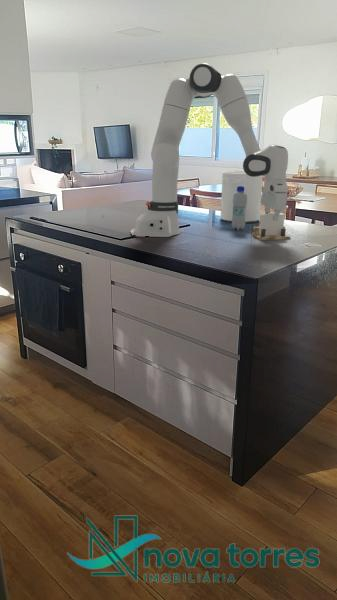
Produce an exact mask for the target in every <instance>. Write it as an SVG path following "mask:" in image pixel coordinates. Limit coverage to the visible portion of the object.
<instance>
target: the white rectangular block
mask: <svg viewBox="0 0 337 600" xmlns="http://www.w3.org/2000/svg"><path fill="white" fill-rule="evenodd" d="M273 216H274V213H270V214H265V213H260V218H259V224H258V225H259V226H258V227H259V235H260V236H261V229H266V232H265V235H281V229H283V226H284V224H285V213H281V212H280V214H279V216H278V221H274V220H273ZM284 227H285V226H284Z"/></svg>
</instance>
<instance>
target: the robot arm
mask: <svg viewBox="0 0 337 600" xmlns="http://www.w3.org/2000/svg"><path fill="white" fill-rule="evenodd" d="M211 96H214V97H215V98H216V99H217V101H218V105H219V106H220V107H219V108H220V111H221V113H222V115H223V117H224V119H225V121H226V123H227V124H228V126H229V127H231V128H232V130H234V131H235V133H236V134H237V136H238V138H239V140H240V142H241V145H242V148H243V152H244V154H245V159H243V163H242V169H243V171H244V172H245V173H246V174H247V175H249V176H251V177H257V176H261V175H263V176H264V182H263V188H262V191H261V206H264V214H271V213H270V210H273V214H274V216H273V220H274V221H278V216H279V214H281V212H285V210H286V207H287V203H288V202H287V201H288V193H289V192H290V187H289V185H288V184H287V175H286V173H287V171H288V165H289V152H288V150H287V148H286V147H284V146H283V145H278V144H270V145H268V146H267V147H265V148H263V149H261V148H260V146H259V144H258V140H257V139H256V135H255V131H254V129H253V124H252V115H251V109H250V105H249V104H250V103H249V100H248V97H247V95H246V92H245V90H244V87H243V86H242V83H241V81H240V80H239V78H238V76H237V75H235V74H233V73H228V74H224V75H222V74H221V73H220V72H219V71H218V70H217V69H216V68H214V67H213V66H212V65H210V64H208V63H205V62H202V63H199V64H196V65H195V66H194V67H193V68H192V70H191V71H190V73H189V77H188V78H186V79H184V78H174V79H173V80H172V81H171V82H170V85H169V87H168V89H167V92H166V95H165V97H164V98H165V99H164V102H163V106H162V109H161V114H160V118H159V123H158V126H157V130H156V133H155V135H154V136H155V137H154V140H153V143H152V149H151V152H150V157H151V161H152V177H151V178H152V179H151V185H152V186H151V201H149V200H148V201H146V202H145V205H146V206H147V210H146V211H145V212H143V213H142V214H141V215H139V216H138V217H137V218H136V220H135V225H134V228H132V229H130V232H131V233H130V235H131V234H132V235H131V236H133V235H136V236H135V237H145V236H149V237H157V238H160V237H161V238H169V237H172V236H176V235H179V234H181V230H180V226H179V220H178V218H179V217H178V213H179V202H178V178H179V169H180V168H179V167H180V151H179V148H180V144H181V141H182V139H183V135H184V132H185V130H186V125H187V122H188V118H189V114H190V110H191V106H192V103H193V100H194V99H205V98H210V97H211Z"/></svg>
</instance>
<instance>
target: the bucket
mask: <svg viewBox="0 0 337 600" xmlns="http://www.w3.org/2000/svg"><path fill="white" fill-rule="evenodd" d="M220 173H221V175H222V180H221V201H220V203H221V204H220V220H221V221H222V222H226V223H231V224H232V218H233V196H234V193H235V192H237V187H238V186H243V187H244V192H245V193H247V204H246V214H245V224H255V223H257V222H260V214H261V206H262V204H261V198H262V192H263V178H264V177H263V176H264V175H261V176H257V177H251V176H249V175H247V174H246V173H245V172H244V170H224V171H221V172H220Z"/></svg>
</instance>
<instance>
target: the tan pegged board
mask: <svg viewBox="0 0 337 600" xmlns="http://www.w3.org/2000/svg"><path fill="white" fill-rule="evenodd" d="M265 232H266V229H261V236H260V235H259V226H253V229H252V232H251V236H252V237H254V238H255V239H257V240H259V241H262V240H263V241H267V240H269V241H271V240H291V235H288V234H286V232H287V231H286V226H283V229H281V235H265Z"/></svg>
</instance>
